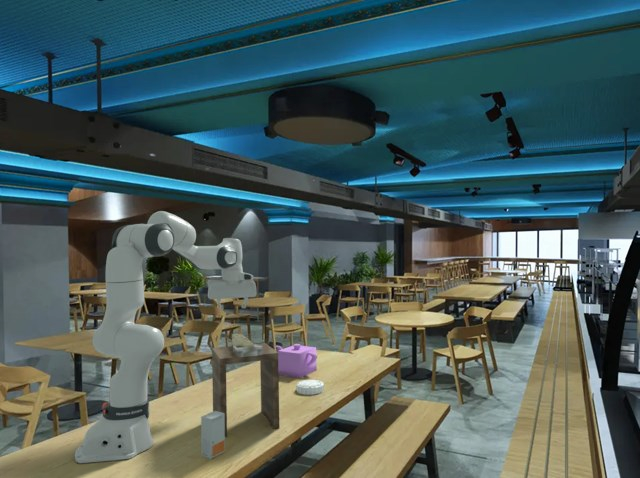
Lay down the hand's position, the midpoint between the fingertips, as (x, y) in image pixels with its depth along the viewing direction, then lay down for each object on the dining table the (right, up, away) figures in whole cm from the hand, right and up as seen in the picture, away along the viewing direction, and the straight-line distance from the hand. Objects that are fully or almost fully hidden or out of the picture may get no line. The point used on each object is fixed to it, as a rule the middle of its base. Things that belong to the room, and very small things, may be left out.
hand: (232, 308), depth 195 cm
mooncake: (+33, -37, +5) cm, 49 cm away
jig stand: (+10, -36, -31) cm, 49 cm away
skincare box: (+5, -36, -55) cm, 66 cm away
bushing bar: (+9, -10, -29) cm, 32 cm away
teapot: (+25, -37, +35) cm, 57 cm away
